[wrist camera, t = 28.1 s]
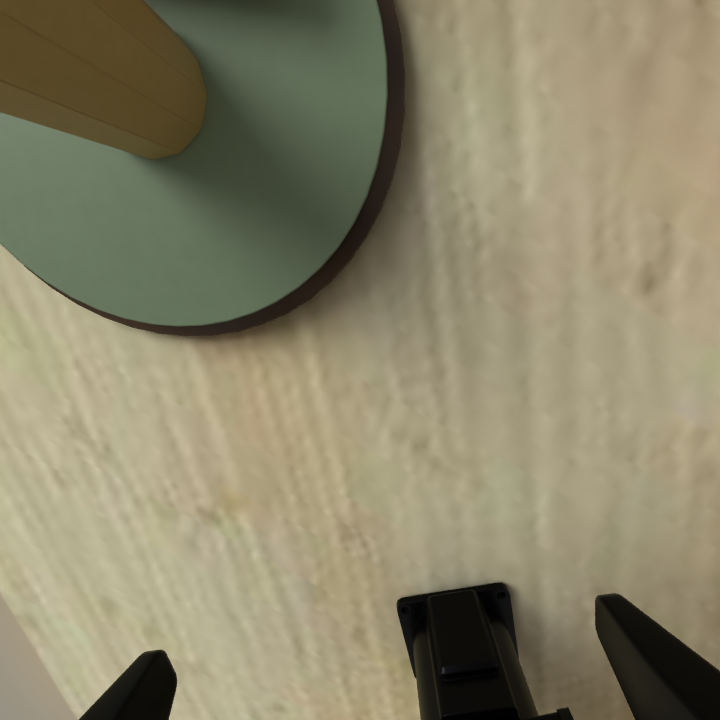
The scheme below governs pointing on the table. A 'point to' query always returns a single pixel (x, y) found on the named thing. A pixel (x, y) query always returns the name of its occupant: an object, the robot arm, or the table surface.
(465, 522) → the table surface
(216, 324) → the display stand
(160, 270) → the turntable
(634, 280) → the table surface
